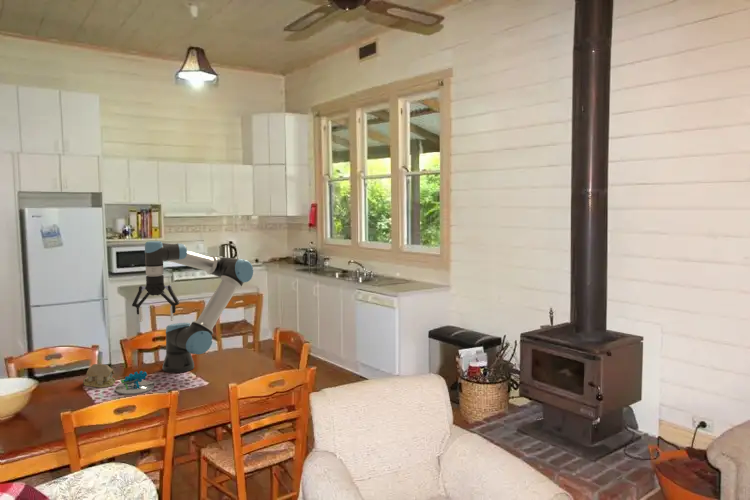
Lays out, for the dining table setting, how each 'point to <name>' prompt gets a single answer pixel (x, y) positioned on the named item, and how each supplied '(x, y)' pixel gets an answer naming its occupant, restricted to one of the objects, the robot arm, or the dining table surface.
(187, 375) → the dining table surface
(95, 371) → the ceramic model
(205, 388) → the dining table surface
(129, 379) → the gear
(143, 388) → the hub plate
